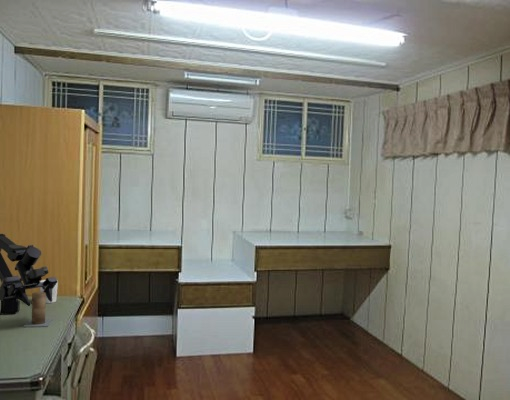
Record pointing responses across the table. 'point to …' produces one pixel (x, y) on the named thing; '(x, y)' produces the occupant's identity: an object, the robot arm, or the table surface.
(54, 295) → the white cup
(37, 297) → the walnut cylinder
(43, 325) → the slate mat
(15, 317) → the table surface
